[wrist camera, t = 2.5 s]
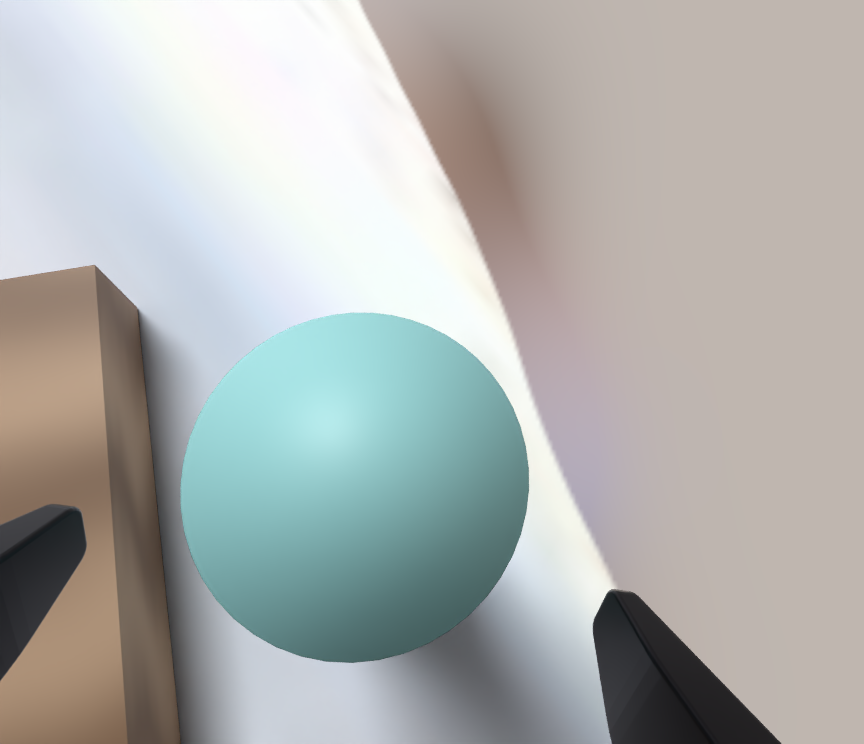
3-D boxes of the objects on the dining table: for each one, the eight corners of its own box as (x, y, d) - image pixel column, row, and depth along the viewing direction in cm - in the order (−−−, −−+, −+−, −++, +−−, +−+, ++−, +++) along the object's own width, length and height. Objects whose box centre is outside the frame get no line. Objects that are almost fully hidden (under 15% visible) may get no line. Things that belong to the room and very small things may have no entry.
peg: (423, 578, 16) (542, 657, 5) (307, 578, 15) (142, 669, 4) (424, 464, 17) (518, 322, 6) (318, 461, 17) (214, 303, 6)
